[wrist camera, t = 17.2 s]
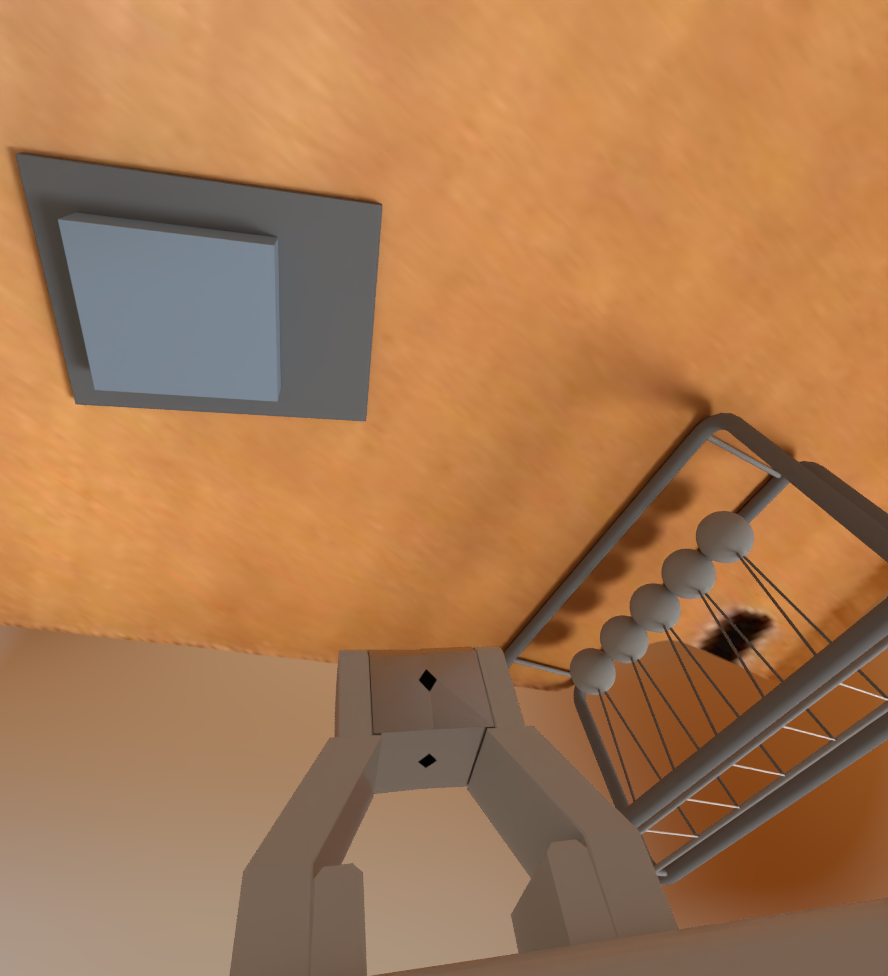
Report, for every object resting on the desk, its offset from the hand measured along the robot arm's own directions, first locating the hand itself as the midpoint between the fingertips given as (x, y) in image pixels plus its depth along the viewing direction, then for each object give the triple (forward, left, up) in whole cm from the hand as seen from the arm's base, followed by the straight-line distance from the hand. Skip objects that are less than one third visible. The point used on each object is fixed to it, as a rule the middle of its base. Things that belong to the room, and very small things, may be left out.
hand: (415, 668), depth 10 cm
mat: (+1, -8, -25) cm, 26 cm away
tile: (+1, -5, -23) cm, 23 cm away
